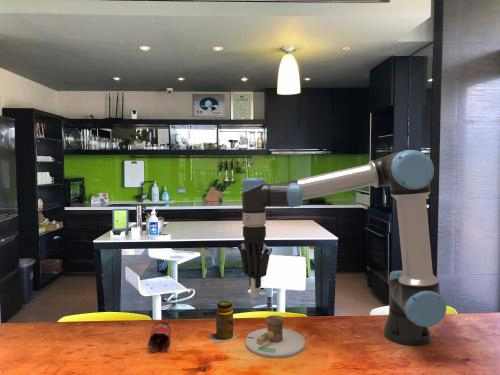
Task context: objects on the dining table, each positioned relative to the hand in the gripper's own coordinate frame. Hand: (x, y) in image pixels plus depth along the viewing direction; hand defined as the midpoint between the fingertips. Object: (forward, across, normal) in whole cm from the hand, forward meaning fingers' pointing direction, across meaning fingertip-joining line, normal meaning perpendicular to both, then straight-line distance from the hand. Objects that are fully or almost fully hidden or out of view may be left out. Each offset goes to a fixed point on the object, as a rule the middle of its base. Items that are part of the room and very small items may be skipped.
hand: (255, 296), depth 129 cm
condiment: (+17, -15, 0) cm, 23 cm away
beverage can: (+17, -27, -19) cm, 37 cm away
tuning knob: (+16, +3, +3) cm, 16 cm away
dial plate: (+17, +3, +7) cm, 19 cm away
